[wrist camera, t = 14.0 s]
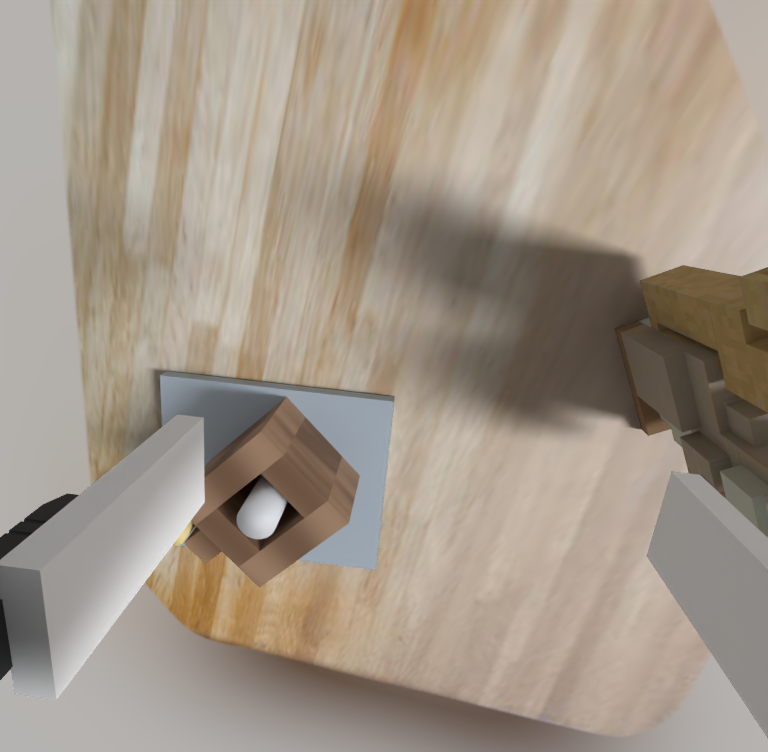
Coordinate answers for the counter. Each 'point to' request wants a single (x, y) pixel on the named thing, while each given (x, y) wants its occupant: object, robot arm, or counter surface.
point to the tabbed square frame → (289, 477)
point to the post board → (328, 415)
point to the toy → (707, 377)
